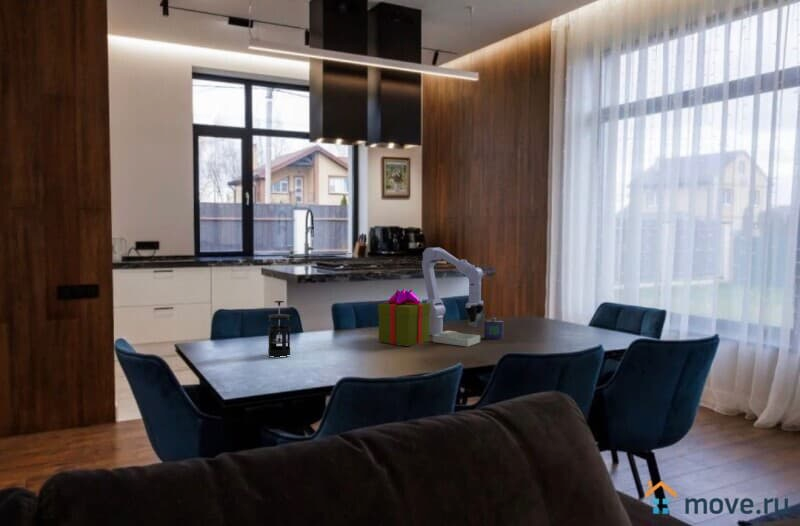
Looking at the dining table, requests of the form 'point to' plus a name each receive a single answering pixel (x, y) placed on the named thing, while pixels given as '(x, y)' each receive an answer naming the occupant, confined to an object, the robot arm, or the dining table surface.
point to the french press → (273, 330)
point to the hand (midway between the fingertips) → (474, 321)
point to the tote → (458, 339)
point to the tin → (477, 320)
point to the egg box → (449, 334)
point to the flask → (493, 329)
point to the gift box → (403, 319)
